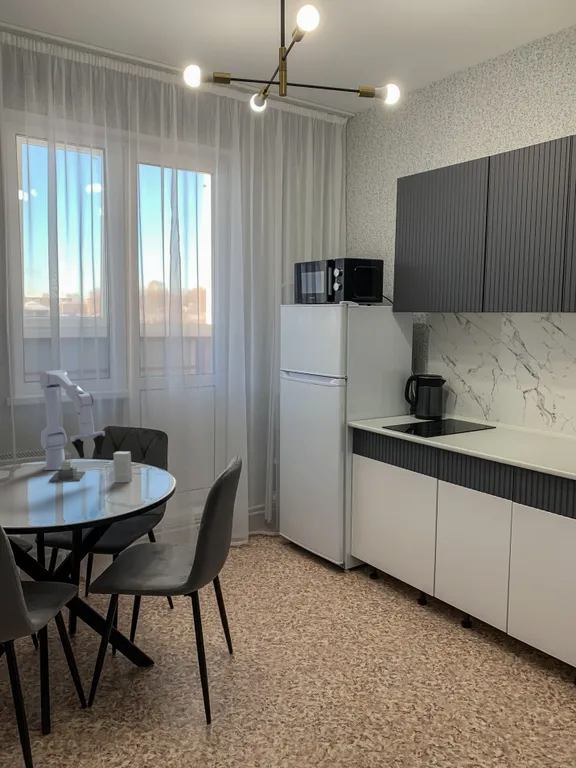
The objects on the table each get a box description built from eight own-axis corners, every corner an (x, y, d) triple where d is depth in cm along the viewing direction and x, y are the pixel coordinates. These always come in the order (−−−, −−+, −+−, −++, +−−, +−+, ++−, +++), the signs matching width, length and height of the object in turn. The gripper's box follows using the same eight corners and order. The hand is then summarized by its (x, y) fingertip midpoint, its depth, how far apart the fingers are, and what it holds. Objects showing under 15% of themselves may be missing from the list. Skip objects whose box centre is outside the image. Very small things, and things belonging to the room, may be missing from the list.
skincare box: (132, 479, 254) (131, 451, 252) (128, 482, 249) (127, 453, 248) (118, 479, 254) (116, 451, 253) (114, 482, 250) (112, 453, 248)
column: (64, 476, 259) (63, 460, 258) (72, 476, 260) (71, 460, 259) (62, 478, 256) (61, 462, 255) (71, 478, 256) (70, 462, 255)
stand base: (56, 474, 263) (55, 465, 262) (85, 473, 264) (84, 464, 264) (49, 482, 251) (48, 472, 251) (79, 480, 253) (78, 471, 252)
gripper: (74, 425, 242) (79, 459, 243) (107, 420, 253) (111, 452, 253) (65, 425, 247) (70, 459, 247) (98, 420, 258) (102, 452, 258)
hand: (90, 456), depth 251 cm, fingers open, 7 cm apart
